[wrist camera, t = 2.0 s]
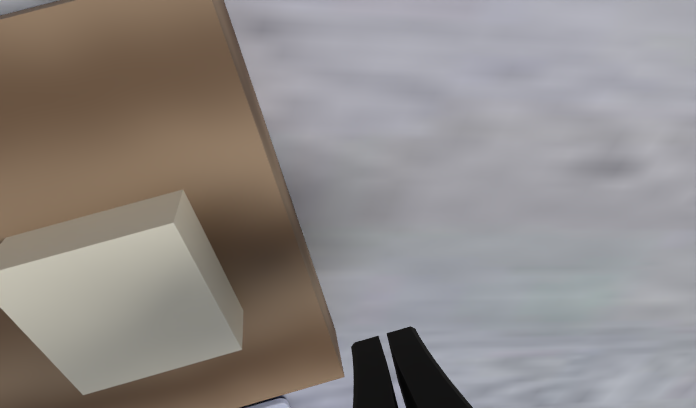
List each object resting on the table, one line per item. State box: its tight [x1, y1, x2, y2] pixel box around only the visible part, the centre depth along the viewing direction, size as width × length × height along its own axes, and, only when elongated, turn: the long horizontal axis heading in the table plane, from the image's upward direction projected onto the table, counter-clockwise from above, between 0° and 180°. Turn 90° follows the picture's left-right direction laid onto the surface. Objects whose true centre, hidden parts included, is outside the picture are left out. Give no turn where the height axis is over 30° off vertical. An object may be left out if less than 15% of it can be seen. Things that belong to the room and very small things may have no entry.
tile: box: [0, 190, 243, 395], centre depth 15 cm, size 6×6×2 cm
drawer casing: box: [0, 0, 344, 408], centre depth 17 cm, size 18×16×3 cm
